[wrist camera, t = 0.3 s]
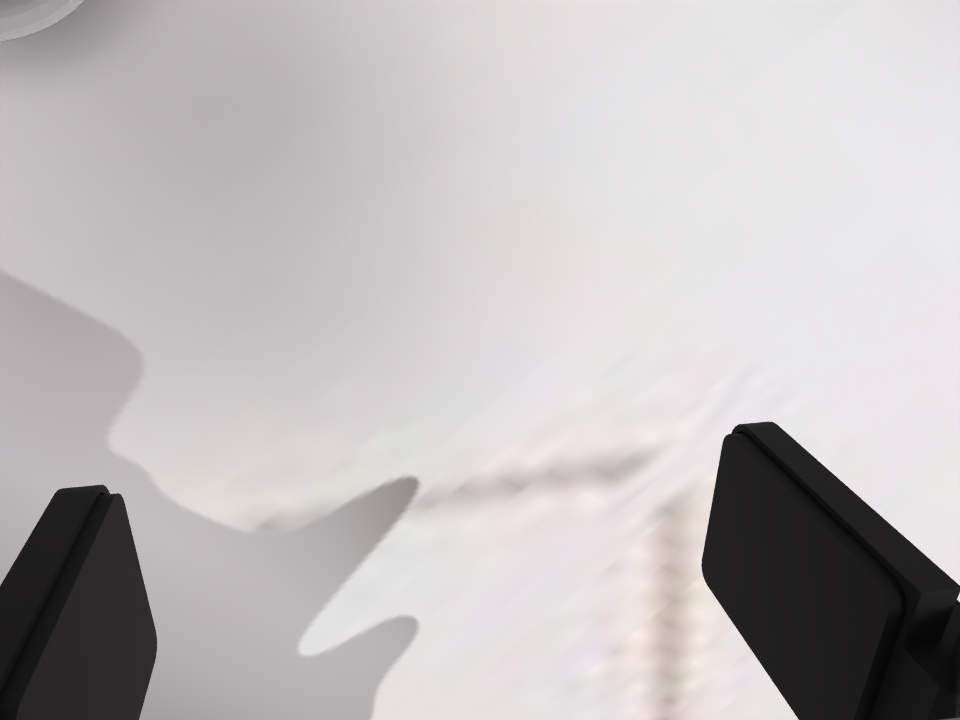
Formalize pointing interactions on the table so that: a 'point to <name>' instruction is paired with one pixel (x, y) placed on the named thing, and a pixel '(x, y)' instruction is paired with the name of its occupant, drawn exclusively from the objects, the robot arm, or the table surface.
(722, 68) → the table surface
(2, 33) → the teacup
